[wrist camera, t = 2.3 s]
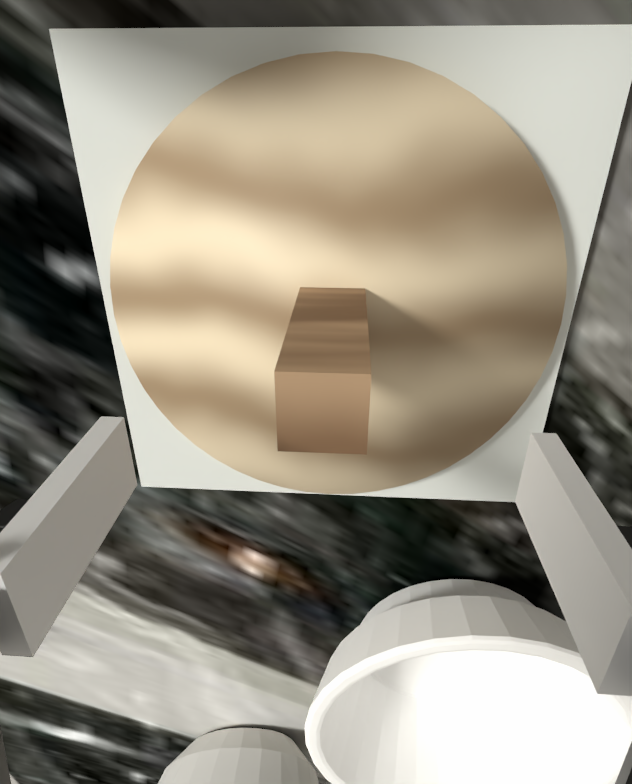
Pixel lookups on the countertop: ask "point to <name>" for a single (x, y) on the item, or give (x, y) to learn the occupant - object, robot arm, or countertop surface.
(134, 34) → the mat
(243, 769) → the soap bottle
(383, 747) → the bowl
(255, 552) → the countertop surface
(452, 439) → the lid
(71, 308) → the countertop surface
